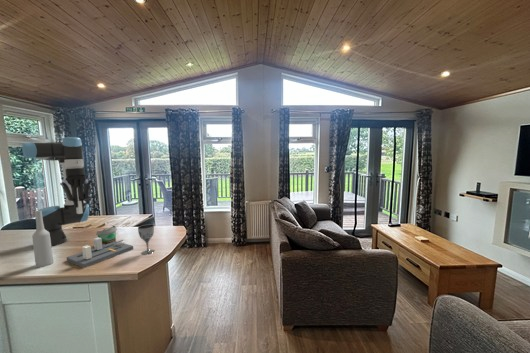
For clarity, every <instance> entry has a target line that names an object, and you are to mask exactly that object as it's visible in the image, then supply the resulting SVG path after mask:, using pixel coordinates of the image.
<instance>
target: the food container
mask: <svg viewBox="0 0 530 353" xmlns="http://www.w3.org/2000/svg"><path fill="white" fill-rule="evenodd" d="M117 230H118V228H117V227H116V225H112V226H111V227H108V228H105V229H103V230H97V231H96V235H97V238H98V237H99V238H102V246H103V245H106V244H109V243H112V242H115V241H116V240H117V232H116V231H117Z"/></svg>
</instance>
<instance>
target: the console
mask: <svg viewBox="0 0 530 353" xmlns="http://www.w3.org/2000/svg"><path fill="white" fill-rule="evenodd" d="M102 247H103V249H100V250H96V249H94V248H91V252H92V258H89V259H84V258H83V252H82V251H81V252H79V253H75V254H73V255H70V256H66V262H68V263H71V264H73V265H76V266H78V267H80V268H83V269H85V268H88V267H90V266H94V265H95V264H99V263H101V262H104V261H107V260H109V259H111V258H115V257H117V256H120V255H123V254H126V253H128V252H130V251H132V250H134V246H133V245H130V244H127V243H125V240H124V239H122V240H121V239H120V240H118V241H115V242H112V243H109V244H106V245H103V246H102Z"/></svg>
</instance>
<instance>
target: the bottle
mask: <svg viewBox="0 0 530 353" xmlns="http://www.w3.org/2000/svg"><path fill="white" fill-rule="evenodd" d="M34 213H35V218H36V219H35V224H36V225H35V226H36V231H34V233H33V234H32V237H31V238H32V245H33V253H34V263H35V268H44V267H48V266H50V265H52V264H54V256H53V250H52V247H53V246H51V239H50V233H49V232H48V231H47V230H45V229H44V224H43V218H42V211H38V210H35V211H34Z"/></svg>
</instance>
